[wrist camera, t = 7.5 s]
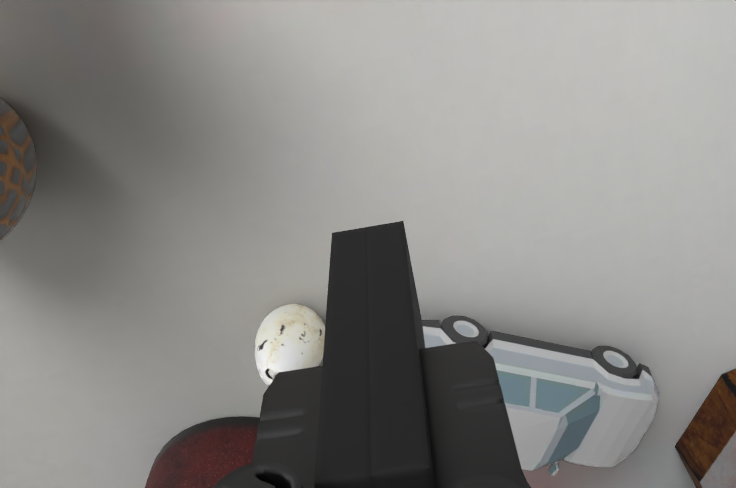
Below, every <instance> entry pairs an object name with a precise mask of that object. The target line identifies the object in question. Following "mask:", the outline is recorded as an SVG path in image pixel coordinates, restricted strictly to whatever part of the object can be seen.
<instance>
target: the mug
mask: <svg viewBox="0 0 736 488" xmlns="http://www.w3.org/2000/svg"><path fill="white" fill-rule="evenodd" d="M675 448H676V450H677V451H678V453H679V455H680V457H681V459H682V461H683V463H684V465H685V467H686V469H687V471H688V472H689V474H690V476H691V478H692V480H693V482H694V484H695V486H696V488H736V369H735V370H732V371H730V372H727V373H725V374H722V375H721V377H720V379H719V380H718V382H717V383H716V385H715V386H714V388H713V389H712V391H711V392H710V394H709V395H708V397H707V398H706V400H705V402H704V403H703V405H702V406H701V408H700V409H699V411H698V412H697V414H696V415H695V417H694V418H693V420H692V421H691V423H690V425H689V426H688V428H687V429H686V431H685V432H684V434H683V435H682V437H681V438H680V440H679V441H678V443H677V444H676V446H675Z"/></svg>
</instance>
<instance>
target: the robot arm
mask: <svg viewBox="0 0 736 488" xmlns="http://www.w3.org/2000/svg"><path fill="white" fill-rule="evenodd" d="M256 437H257V441H255V447H254V453H253V458H252V464H248V465H245V466H241V467H239V468H237V469H235V470H234V471H232V472H231V473H229V474H227V475H226V476H224V477H222V478H221V479H220V480H219V482H218V483H217V484H216V485H215V486H214V487H213V488H531V487H530V486H529V484H528V483H527V481H526V479H525V477H524V474H523V472H522V468H521V464H520V461H519V457H518V453H517V449H516V445H515V441H514V437H513V433H512V429H511V425H510V421H509V417H508V413H507V409H506V405H505V403H504V398H503V394H502V390H501V386H500V383H499V378H498V374H497V370H496V366H495V362H494V358H493V357H492V356H491V355H490V354H489V353H488V352H487V351H486V350H485V348H484V347H483V346H482V345H481V344H480V343H479V342H478V341H477V340H475V341H468V342H462V343H455V344H449V345H442V346H436V347H429V348H425V341H424V333H423V326H422V320H421V315H420V309H419V304H418V299H417V293H416V288H415V282H414V277H413V272H412V266H411V261H410V255H409V250H408V245H407V239H406V234H405V228H404V223H403V221H401V222H395V223H389V224H383V225H377V226H371V227H365V228H359V229H354V230H348V231H342V232H336V233H332V243H331V257H330V270H329V284H328V298H327V311H326V325H325V339H324V352H323V366H317V367H311V368H304V369H298V370H291V371H285V372H279V373H278V374H277V375H276V377H275V378H274V380H273V381H272V383H271V384H270V386H269V387H268V389H267V390H266V392H265V393H264V395H263V401H262V407H261V413H260V422H259V424H258V430H257V435H256Z"/></svg>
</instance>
